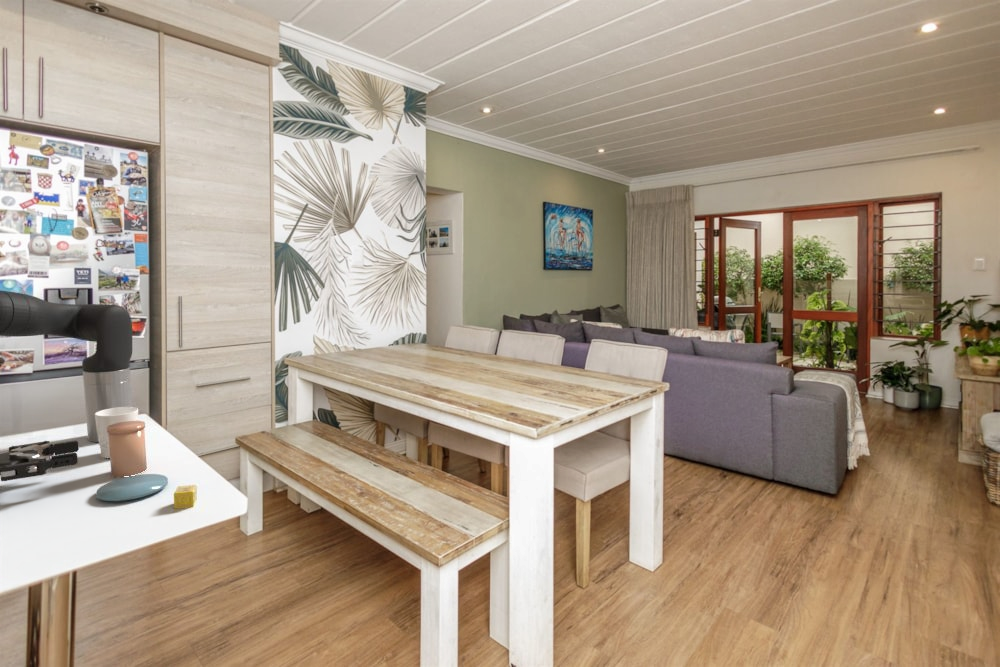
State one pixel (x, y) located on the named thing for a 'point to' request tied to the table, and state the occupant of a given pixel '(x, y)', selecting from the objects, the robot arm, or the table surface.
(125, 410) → the white cup
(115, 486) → the blue-grey round disc
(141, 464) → the dome-topped peach cylinder
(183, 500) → the alphabet block
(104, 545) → the table surface
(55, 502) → the table surface
